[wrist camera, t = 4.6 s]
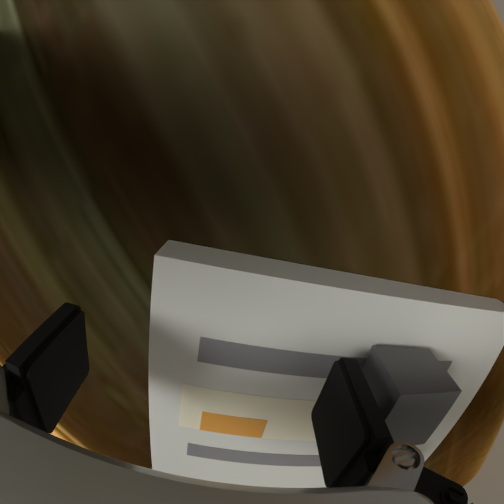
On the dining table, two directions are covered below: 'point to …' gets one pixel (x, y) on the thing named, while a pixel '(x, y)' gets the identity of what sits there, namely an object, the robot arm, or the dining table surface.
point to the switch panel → (285, 357)
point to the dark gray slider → (410, 390)
